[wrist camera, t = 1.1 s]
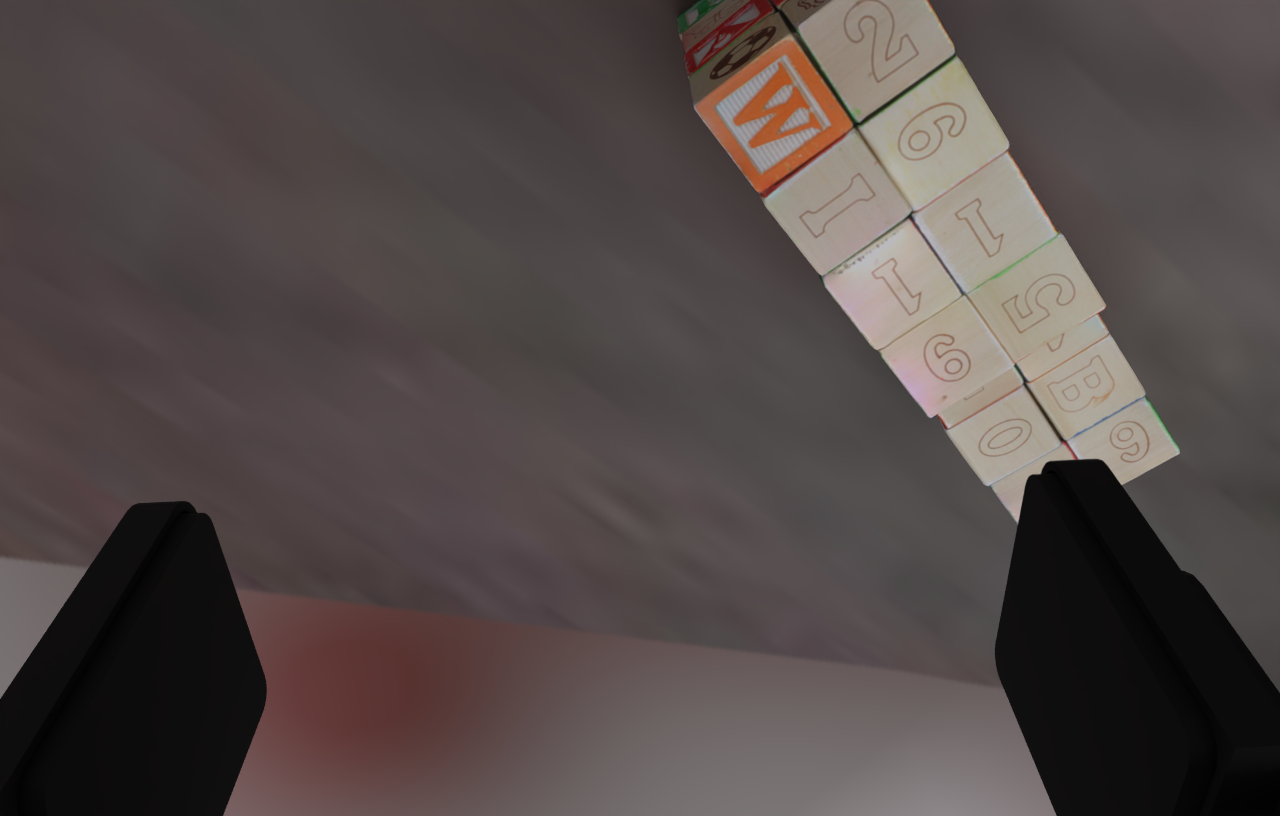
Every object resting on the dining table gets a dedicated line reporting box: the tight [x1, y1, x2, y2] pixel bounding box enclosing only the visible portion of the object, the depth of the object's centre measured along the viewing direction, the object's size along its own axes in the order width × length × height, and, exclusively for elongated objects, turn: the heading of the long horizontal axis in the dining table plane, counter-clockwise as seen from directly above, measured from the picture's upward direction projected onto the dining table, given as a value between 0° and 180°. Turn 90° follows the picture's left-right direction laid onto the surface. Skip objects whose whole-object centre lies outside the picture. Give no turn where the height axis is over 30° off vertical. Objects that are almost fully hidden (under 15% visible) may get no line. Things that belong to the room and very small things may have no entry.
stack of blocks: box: [677, 0, 1180, 524], centre depth 35 cm, size 21×6×12 cm, turn 37°
